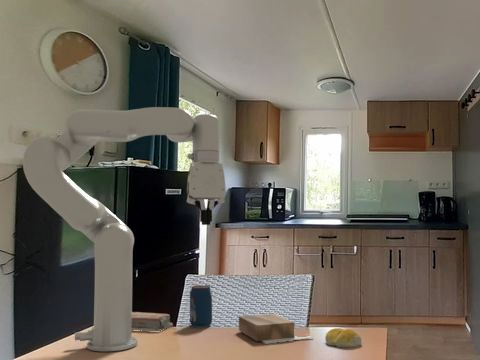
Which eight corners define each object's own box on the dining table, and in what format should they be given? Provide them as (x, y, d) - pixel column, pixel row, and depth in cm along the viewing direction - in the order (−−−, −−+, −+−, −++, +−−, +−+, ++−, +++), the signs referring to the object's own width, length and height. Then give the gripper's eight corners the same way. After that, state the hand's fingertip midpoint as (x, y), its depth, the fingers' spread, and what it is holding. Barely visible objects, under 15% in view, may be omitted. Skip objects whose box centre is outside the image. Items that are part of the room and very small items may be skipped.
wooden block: (256, 325, 121) (294, 322, 125) (238, 316, 134) (273, 313, 138) (257, 341, 120) (294, 337, 124) (238, 330, 134) (273, 327, 137)
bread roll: (337, 339, 125) (337, 323, 125) (366, 344, 118) (365, 328, 118) (318, 344, 119) (317, 328, 120) (347, 350, 113) (346, 333, 113)
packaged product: (173, 311, 143) (159, 317, 134) (173, 327, 143) (159, 334, 133) (123, 309, 149) (105, 314, 139) (122, 324, 148) (105, 331, 139)
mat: (265, 343, 119) (265, 342, 119) (241, 330, 136) (241, 328, 136) (313, 339, 124) (313, 337, 124) (284, 326, 141) (284, 325, 141)
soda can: (214, 323, 145) (214, 285, 147) (208, 328, 139) (208, 288, 140) (194, 323, 147) (194, 285, 148) (186, 327, 140) (186, 287, 142)
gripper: (182, 155, 122) (182, 224, 120) (235, 158, 127) (236, 224, 125) (176, 159, 129) (176, 225, 127) (226, 162, 134) (227, 224, 132)
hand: (206, 224), depth 126 cm, fingers closed
